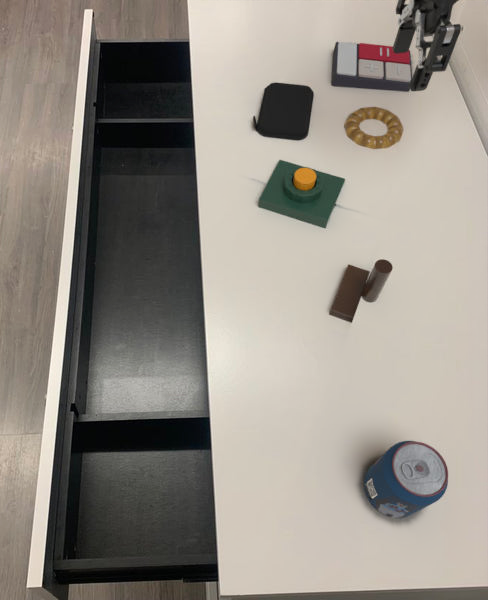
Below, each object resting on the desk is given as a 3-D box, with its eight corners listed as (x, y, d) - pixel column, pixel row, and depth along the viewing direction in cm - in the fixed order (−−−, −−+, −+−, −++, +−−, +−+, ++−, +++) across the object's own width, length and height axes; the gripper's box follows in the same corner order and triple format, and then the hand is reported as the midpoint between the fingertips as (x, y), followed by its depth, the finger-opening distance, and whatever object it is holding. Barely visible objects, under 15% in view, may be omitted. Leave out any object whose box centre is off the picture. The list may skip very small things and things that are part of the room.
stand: (403, 288, 82) (424, 252, 74) (388, 336, 78) (408, 303, 70) (346, 269, 84) (360, 232, 76) (329, 314, 80) (342, 280, 72)
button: (317, 178, 89) (319, 171, 88) (310, 193, 88) (312, 186, 86) (297, 172, 90) (298, 165, 89) (290, 187, 89) (291, 179, 87)
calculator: (414, 81, 101) (335, 71, 102) (406, 99, 105) (329, 90, 106) (411, 45, 106) (336, 37, 108) (404, 64, 110) (331, 56, 111)
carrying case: (260, 89, 107) (249, 140, 100) (261, 76, 104) (249, 127, 97) (313, 95, 106) (306, 147, 98) (315, 82, 103) (308, 134, 96)
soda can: (405, 459, 69) (439, 431, 58) (425, 515, 65) (465, 496, 55) (353, 467, 68) (377, 441, 58) (371, 524, 65) (400, 507, 55)
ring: (406, 123, 100) (410, 112, 98) (392, 160, 96) (396, 149, 93) (352, 109, 103) (355, 98, 101) (336, 144, 98) (339, 133, 96)
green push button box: (342, 187, 93) (347, 171, 89) (325, 228, 88) (329, 213, 85) (278, 168, 96) (280, 151, 92) (258, 207, 91) (259, 191, 88)
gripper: (507, -24, 58) (450, 100, 72) (462, -86, 65) (419, 37, 79) (438, -18, 58) (395, 105, 72) (402, -81, 65) (369, 42, 79)
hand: (408, 69), depth 75 cm, fingers open, 8 cm apart
